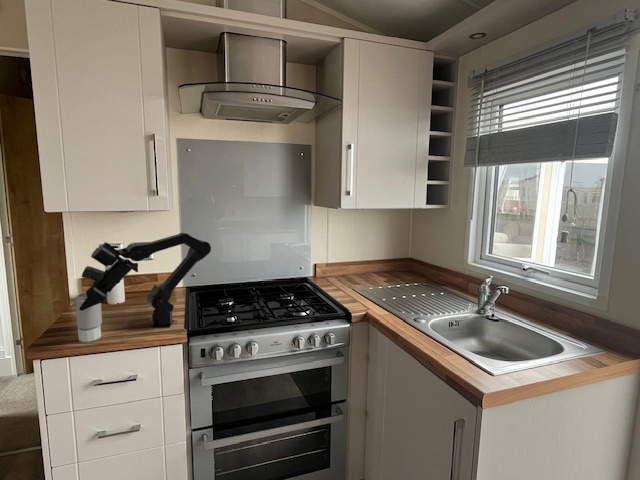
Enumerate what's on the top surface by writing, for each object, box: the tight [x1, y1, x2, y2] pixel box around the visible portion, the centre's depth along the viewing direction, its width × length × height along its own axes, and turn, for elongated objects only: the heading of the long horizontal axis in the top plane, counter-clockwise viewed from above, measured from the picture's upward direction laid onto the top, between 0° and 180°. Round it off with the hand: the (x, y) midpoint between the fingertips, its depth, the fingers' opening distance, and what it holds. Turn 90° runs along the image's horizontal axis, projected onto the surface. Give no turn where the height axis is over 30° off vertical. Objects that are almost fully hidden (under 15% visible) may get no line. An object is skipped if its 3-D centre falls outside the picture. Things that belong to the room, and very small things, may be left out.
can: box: [75, 292, 103, 330], centre depth 129 cm, size 8×8×12 cm
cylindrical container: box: [104, 247, 126, 305], centre depth 169 cm, size 7×7×25 cm
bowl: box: [77, 325, 102, 343], centre depth 130 cm, size 7×7×4 cm
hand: (83, 306), depth 128 cm, fingers open, 8 cm apart
